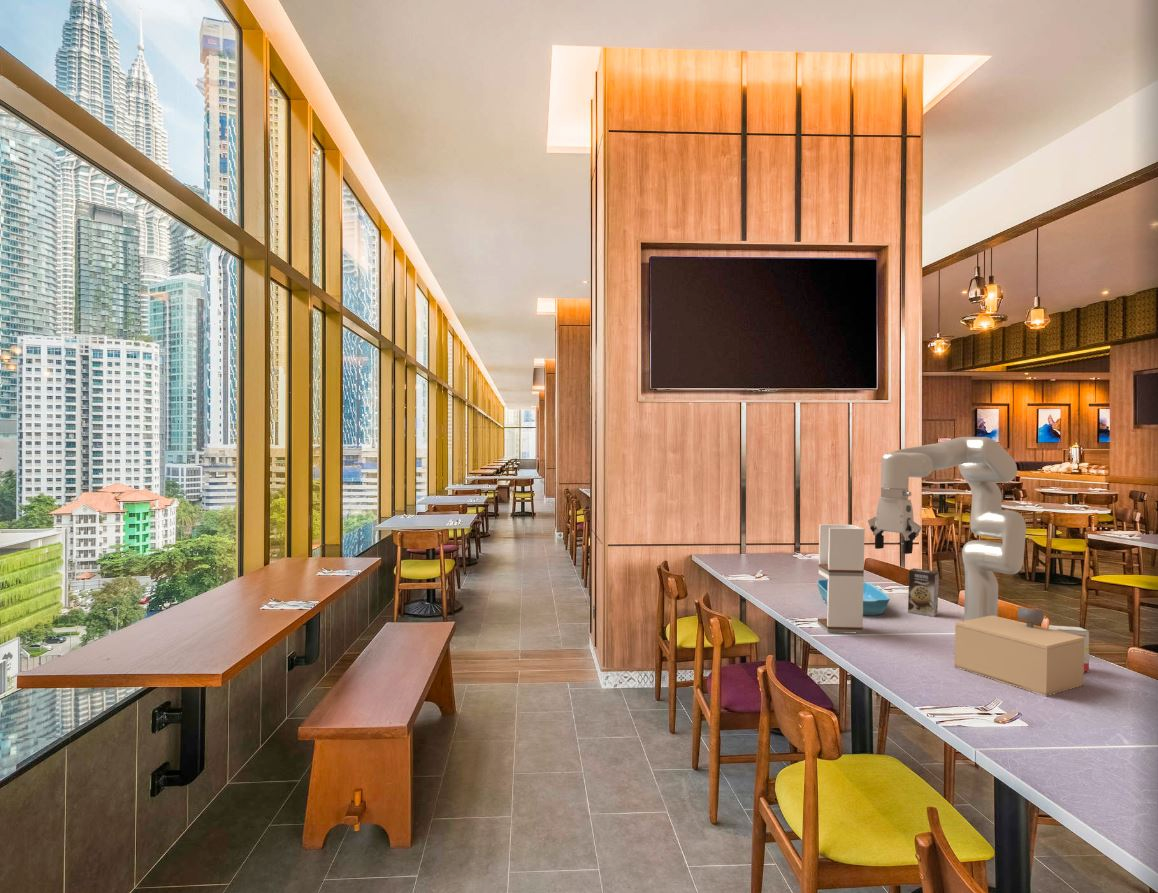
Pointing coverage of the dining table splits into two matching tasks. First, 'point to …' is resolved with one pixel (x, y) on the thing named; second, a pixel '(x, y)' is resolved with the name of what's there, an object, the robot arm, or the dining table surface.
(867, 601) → the casserole dish
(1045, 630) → the carton lid
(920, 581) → the dessert mix box
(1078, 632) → the ink box
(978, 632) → the carton
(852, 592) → the display case
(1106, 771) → the dining table surface
